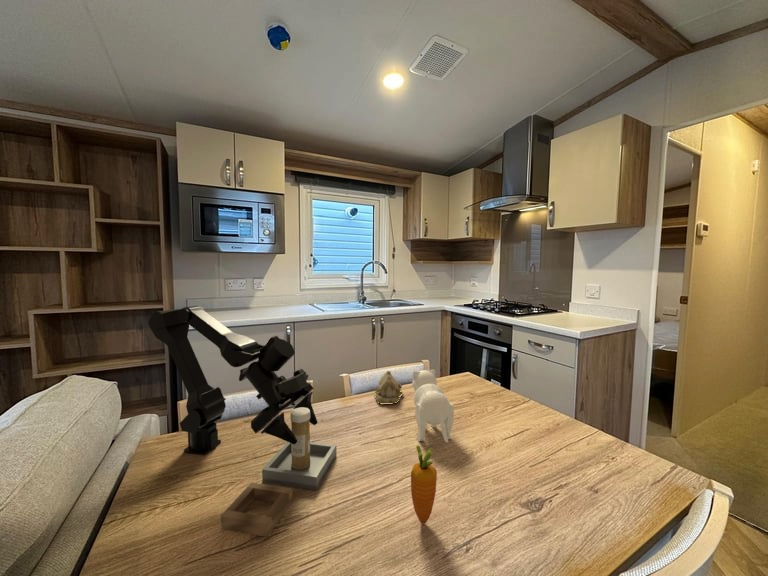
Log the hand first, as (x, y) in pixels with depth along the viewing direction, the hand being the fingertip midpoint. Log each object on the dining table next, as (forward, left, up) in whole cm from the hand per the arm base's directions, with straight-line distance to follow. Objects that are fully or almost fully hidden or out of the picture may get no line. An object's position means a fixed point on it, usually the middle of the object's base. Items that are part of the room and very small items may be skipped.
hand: (306, 433), depth 77 cm
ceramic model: (+12, +47, -9) cm, 49 cm away
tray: (-1, 0, -9) cm, 9 cm away
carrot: (+29, -11, -9) cm, 32 cm away
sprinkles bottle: (-2, 0, -8) cm, 8 cm away
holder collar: (-3, -15, -9) cm, 18 cm away
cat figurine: (+29, +23, -9) cm, 38 cm away
